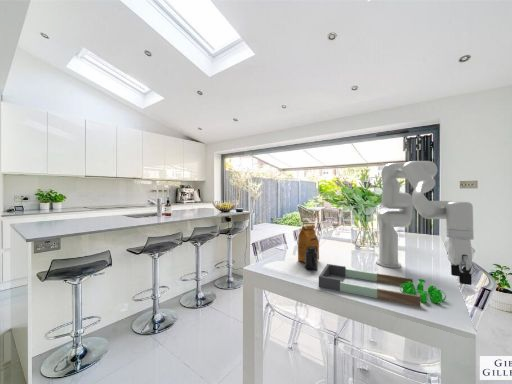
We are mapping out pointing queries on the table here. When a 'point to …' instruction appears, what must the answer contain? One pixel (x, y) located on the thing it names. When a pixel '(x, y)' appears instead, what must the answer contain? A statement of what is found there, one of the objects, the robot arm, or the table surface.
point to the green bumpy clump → (431, 291)
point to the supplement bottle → (311, 258)
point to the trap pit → (332, 277)
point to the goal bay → (359, 288)
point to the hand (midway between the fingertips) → (460, 279)
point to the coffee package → (307, 241)
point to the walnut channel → (394, 295)
